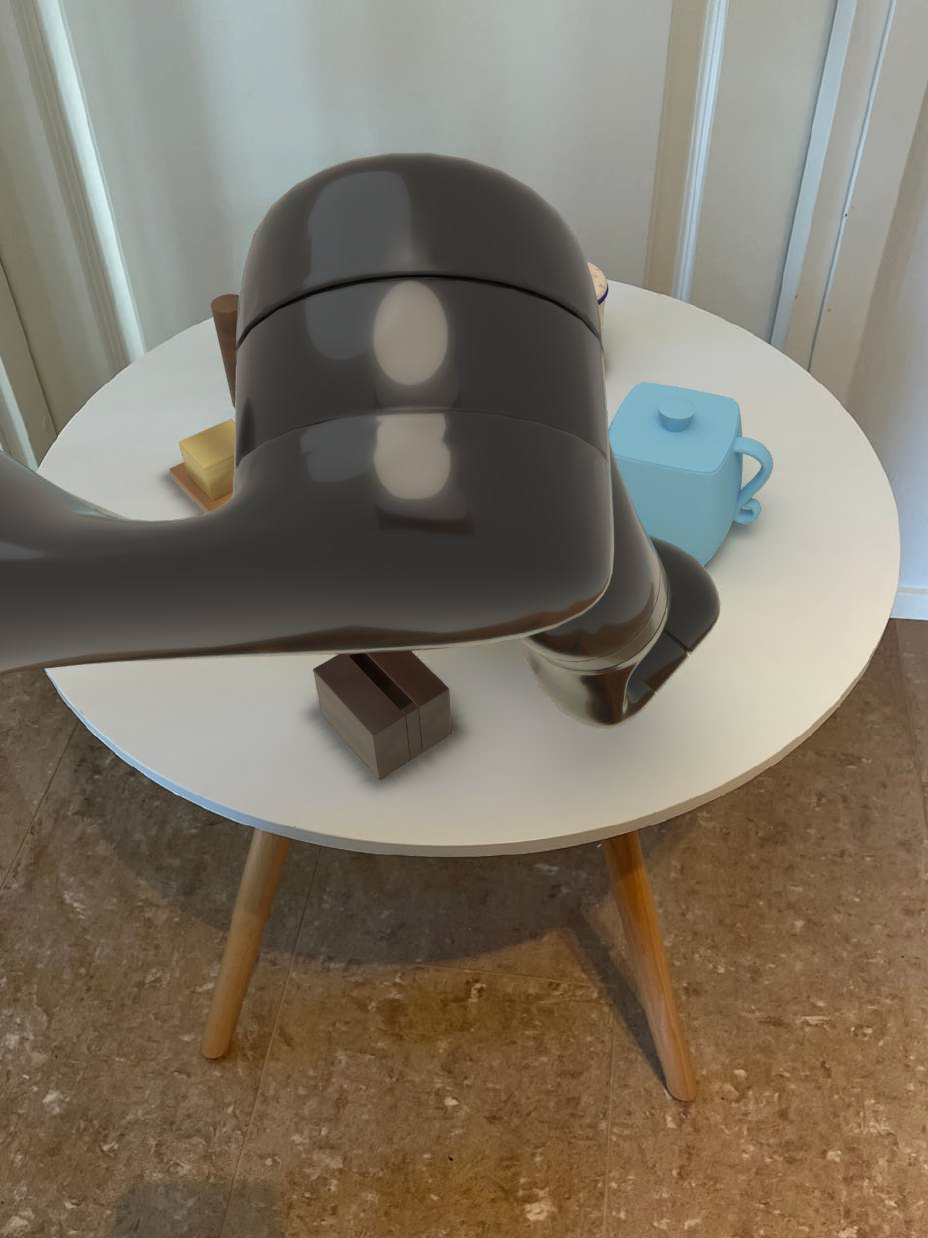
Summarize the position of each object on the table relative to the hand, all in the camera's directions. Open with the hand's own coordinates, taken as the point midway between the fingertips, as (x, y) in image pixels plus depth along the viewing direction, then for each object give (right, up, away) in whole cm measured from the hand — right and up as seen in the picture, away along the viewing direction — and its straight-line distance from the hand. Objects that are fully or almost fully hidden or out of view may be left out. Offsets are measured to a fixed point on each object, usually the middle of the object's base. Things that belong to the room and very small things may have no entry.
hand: (295, 363), depth 74 cm
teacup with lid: (+19, +5, +27) cm, 33 cm away
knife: (-6, -4, +17) cm, 18 cm away
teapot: (+26, -10, +12) cm, 31 cm away
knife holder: (+6, -25, -2) cm, 26 cm away
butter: (-6, -5, +18) cm, 19 cm away
